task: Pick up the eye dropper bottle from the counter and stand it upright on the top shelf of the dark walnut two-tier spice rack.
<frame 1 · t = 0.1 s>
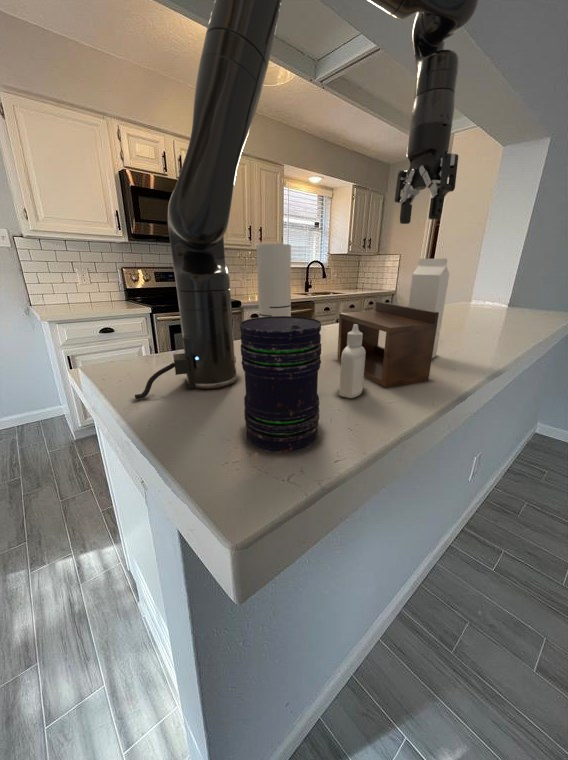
hand: (418, 221, 67), 29 cm above the countertop, tool pointing down, fingers open, 8 cm apart
cylindrical container: (275, 360, 76), on the countertop
spice rack: (378, 369, 68), on the countertop
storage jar: (282, 434, 44), on the countertop
milk: (419, 357, 77), on the countertop
eye dropper bottle: (351, 393, 57), on the countertop
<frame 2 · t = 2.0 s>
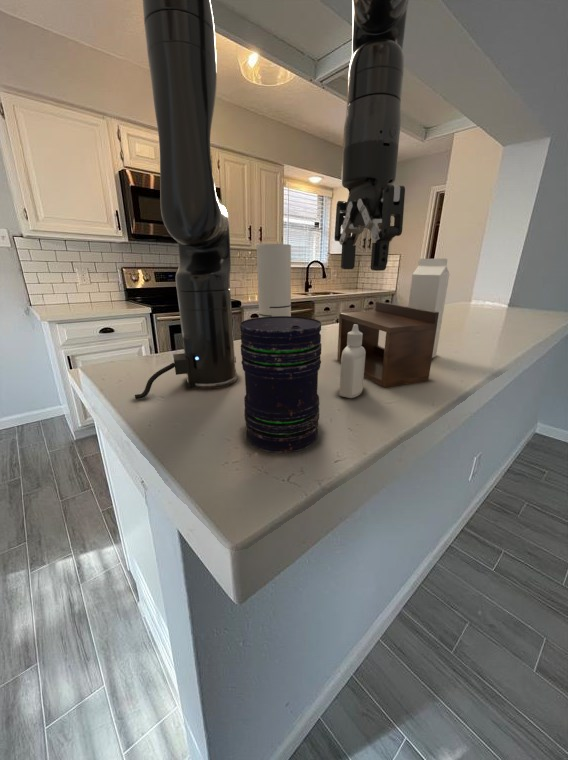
hand: (361, 269, 50), 20 cm above the countertop, tool pointing down, fingers open, 8 cm apart
nothing on the countertop moved.
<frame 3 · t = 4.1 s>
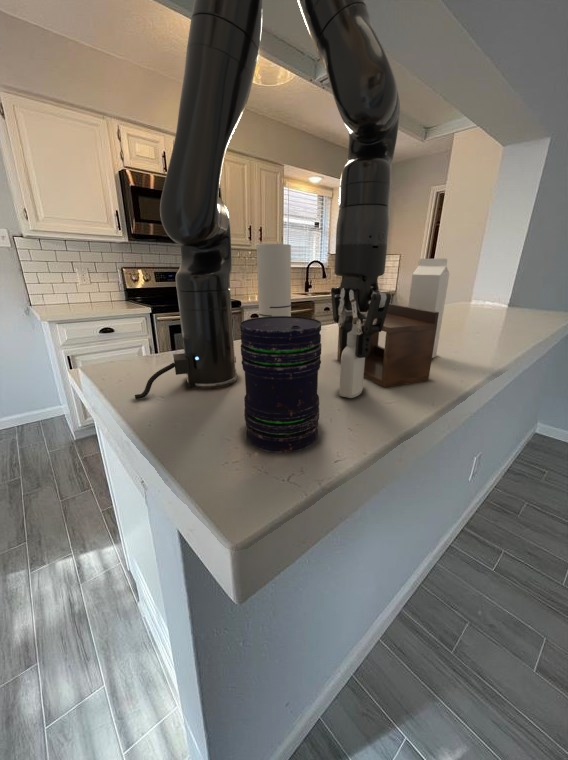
hand: (353, 352, 54), 7 cm above the countertop, tool pointing down, fingers closed on eye dropper bottle, 4 cm apart
eye dropper bottle: (350, 393, 57), on the countertop, touching gripper
everything else where it was.
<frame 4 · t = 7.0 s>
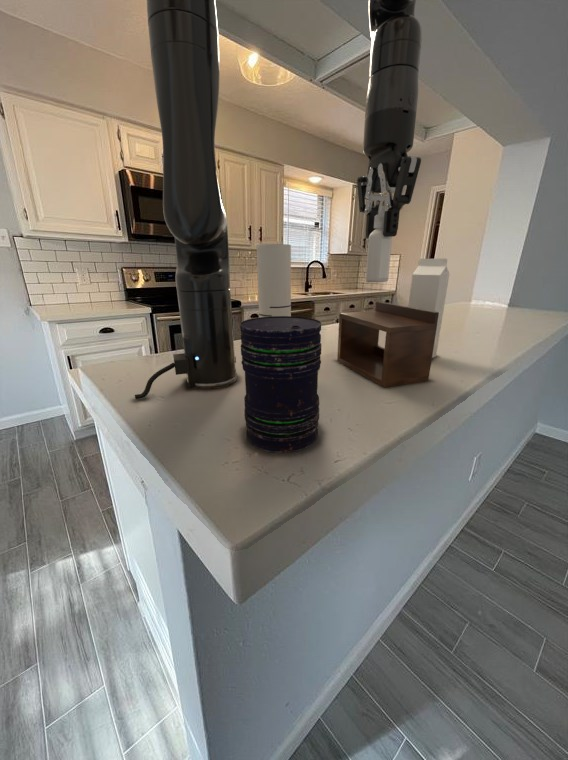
hand: (380, 236, 55), 26 cm above the countertop, tool pointing down, fingers closed on eye dropper bottle, 4 cm apart
eye dropper bottle: (376, 282, 58), point 18 cm above the countertop, touching gripper
everything else where it was.
when the fingers open (18 cm above the countertop, at t = 9.9 s): eye dropper bottle stays where it is, resting on spice rack.
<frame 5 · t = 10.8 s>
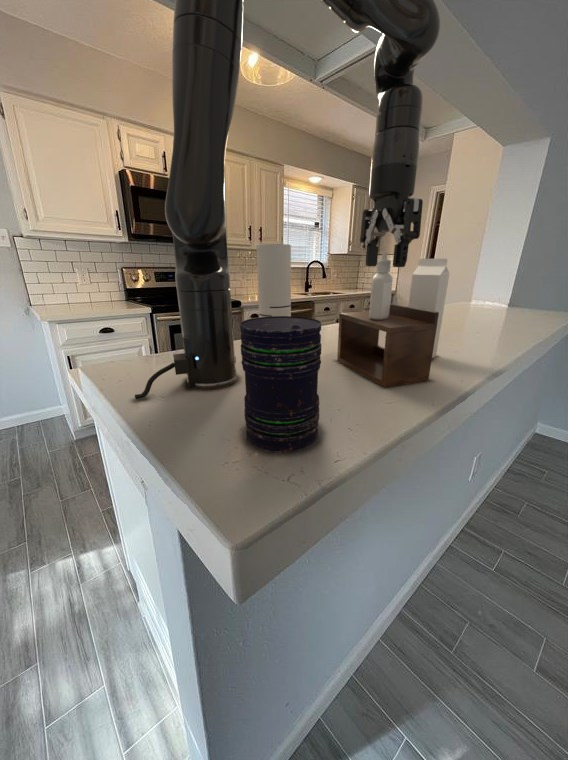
hand: (384, 266, 61), 21 cm above the countertop, tool pointing down, fingers open, 8 cm apart
eye dropper bottle: (378, 319, 64), point 11 cm above the countertop, touching spice rack
everything else where it was.
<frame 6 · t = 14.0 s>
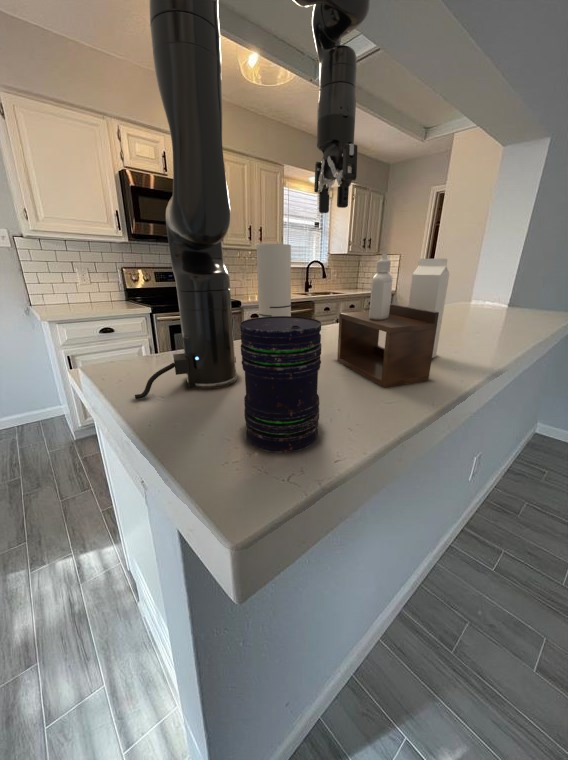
hand: (332, 210, 70), 32 cm above the countertop, tool pointing down, fingers open, 8 cm apart
nothing on the countertop moved.
at the end: eye dropper bottle inside the target area on the spice rack (1.1 cm from its centre), point 10.8 cm above the spice rack's base; eye dropper bottle tilted 0°; the gripper is holding nothing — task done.
